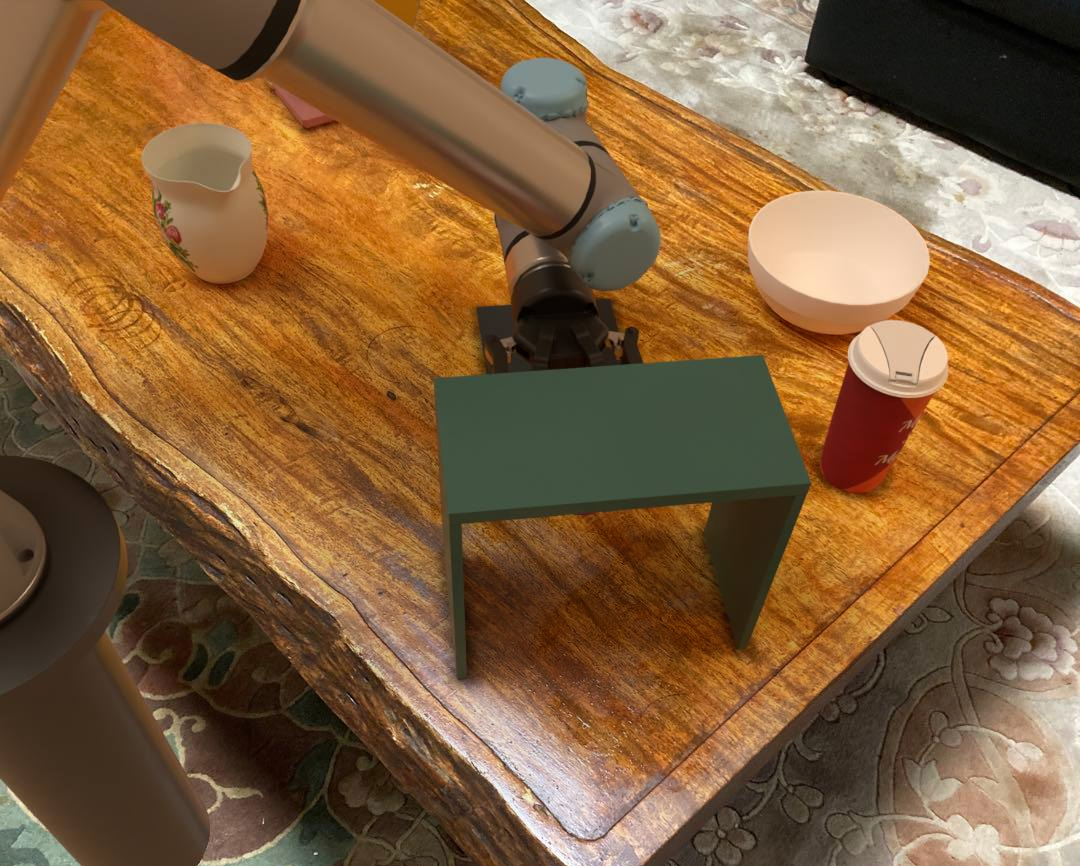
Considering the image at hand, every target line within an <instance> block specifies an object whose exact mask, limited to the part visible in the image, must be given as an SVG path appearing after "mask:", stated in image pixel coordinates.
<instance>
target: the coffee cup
mask: <svg viewBox="0 0 1080 866" xmlns="http://www.w3.org/2000/svg"><path fill="white" fill-rule="evenodd" d="M847 361H848V363H847V366H846V369H845V372H844V376H843V379H842V383H841V386H840V389H839V393H838V396H837V399H836V402H835V405H834V409H833V412H832V416H831V418H830V422H829V425H828V428H827V432H826V437H825V440H824V443H823V446H822V450H821V453H820V459H819V468H820V469H819V470H820V472H821V474H822V475H823V477H824V478H825V479H826V481H827V482H828V483H829V484H830V485H832V486H833V487H835V488H837V489H838V490H841V491H844V492H848V493H851V494H863V493H868V492H871V491H874V490H875V489H876V488H878V487H879V485H881V483H882V482H883V480H884V479H885V477H886V476H887V474H888V473H889V471H890V469H891V468H892V466H893V465H894V463H895V461H896V460H897V458H898V456H899V455H900V453H901V451H902V449H903V448H904V446H905V444H907V443H906V442H907V441H908V440H909V437H910V436H911V434H912V433H913V431H914V429H915V428H916V425H917V424H918V422H919V420H920V419H921V417H922V415H923V413H924V412H925V410H926V408H927V407H928V405H929V403H930V402H931V400H932V398H933V396H934V395H935V393H936V392H938V391H939V390H941V389H942V388H943V386H944V385H945V384H946V382H947V381H948V377H949V371H950V369H949V356H948V351H947V349H946V346H945V345H944V343H943V341H942V340H941V339H940V338H939V337H938V336H937V335H936V334H935V333H932V332H931V331H930V330H928V329H927V328H925V327H923V326H921V325H919V324H916V323H913V322H909V321H906V320H898V319H887V320H886V321H881V322H878V323H875V324H872V325H870V326H868V327H866V328H865V329H864V330H862V331H860V333H859V334H857V335H856V336H855V337H854V338H853V339H852V341H851V342H850V343H849V346H848V349H847Z"/></svg>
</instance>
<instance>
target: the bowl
mask: <svg viewBox="0 0 1080 866" xmlns="http://www.w3.org/2000/svg"><path fill="white" fill-rule="evenodd" d="M747 263H748V268H749V272H750V274H751V276H752V277H753V282H754V285H755V287H756V290H757V291H758V293H759V295H760V296H761V298H762V299H763V301H765V303H766V304H767V305H768V306H769V308H771V310H772V311H773V312H774V313H775V314H776V315H778V316H779V317H780V318H782V319H783V320H784V321H787V322H788V323H790V324H792V325H794V326H796V327H798V328H801V329H802V330H805V331H809V332H813V333H818V334H823V335H824V334H825V335H849V334H855V333H859V332H862V331H863V330H864V329H865V328H866V327H868V326H870V325H872V324H875V323H878V322H881V321H886V320H889V319H890V318H891V317H892V316H893V315H895V314H897V313H899V312H900V311H901V310H903V309H904V308H905V307H906V306H908V304H909V303H910V302H911V300H912V299H913V297H914V296H915V295H916V293H917V291H918V290H919V289H920V287H921V286H922V285H923V283H924V281H925V280H926V278H927V277H928V273H929V269H930V265H931V258H930V251H929V248H928V246H927V243H926V241H925V239H924V237H923V236H922V234H921V233H920V232H919V230H918V229H917V228H916V227H915V226H914V225H913V224H912V223H911V222H910V221H909V220H907V219H906V218H905V217H904V216H902V215H901V214H900V213H898V212H897V211H895V210H894V209H891V208H890V207H888V206H886V205H885V204H882V203H880V202H878V201H876V200H873V199H869V198H866V197H864V196H860V195H858V194H853V193H849V192H841V191H835V190H806V191H796V192H793V193H789V194H785V195H782V196H780V197H778V198H776V199H773V200H771V201H769V202H768V203H767V204H766V205H765V204H764V206H763V207H761V208H760V209H759V210H758V211H757V213H756V214H755V215H754V217H753V218H752V219H751V222H750V225H749V228H748V236H747Z"/></svg>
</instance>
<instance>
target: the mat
mask: <svg viewBox="0 0 1080 866" xmlns="http://www.w3.org/2000/svg"><path fill="white" fill-rule="evenodd" d="M595 301H596V305H597V309H598V313H599V318H600V320H601V321H602V322H603V323H604V324H605V325H606V326H607V328H608V331H612V332H619V333H620V331H619V327H618V324H617V319H616V316H615V312H614V308H613V304H612V301H611V298H595ZM476 313H477V314H476V315H477V321H478V328H479V334H480V340H481V349H482V354H483V360H484V366H485V374H492V372H491V370H490V369H489V367H488V365H487V364H486V362H485V338H486V337H487V336H488V335H496V336H497V337H498V338H499V339H500V340H502V339H505V338H509V337H512V334H513V332H514V330H515V325H514V319H513V314H512V308H511V304H501V305H484V306H483V305H482V306H476ZM602 356H603V360H604V361H605V363H606V364H607V366H613V365H621V360H617V359H616V355H615V354H614V353H613V350H612V349H611V348H610V347H607V346H606V347H605V349H604V350H603V352H602ZM531 370H532V365H531V364H529V363H528V362H527V361H525V360H524V359H523V358H521V357H520V356H519V355H518V354H516V353H515V352H514V353H513V354H512V361H511V362H510V363H508V371H509V373H513V372H527V371H531Z"/></svg>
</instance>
